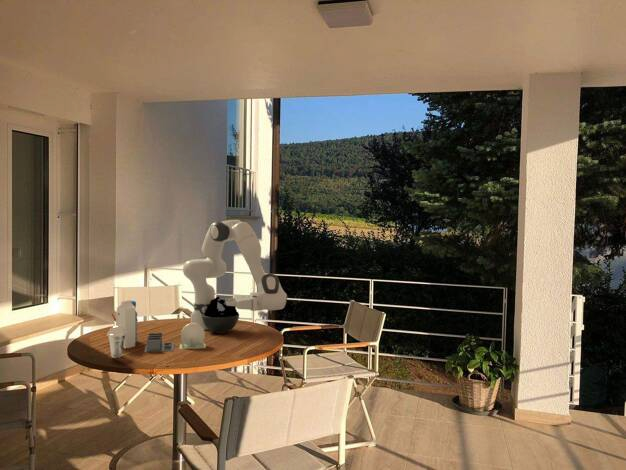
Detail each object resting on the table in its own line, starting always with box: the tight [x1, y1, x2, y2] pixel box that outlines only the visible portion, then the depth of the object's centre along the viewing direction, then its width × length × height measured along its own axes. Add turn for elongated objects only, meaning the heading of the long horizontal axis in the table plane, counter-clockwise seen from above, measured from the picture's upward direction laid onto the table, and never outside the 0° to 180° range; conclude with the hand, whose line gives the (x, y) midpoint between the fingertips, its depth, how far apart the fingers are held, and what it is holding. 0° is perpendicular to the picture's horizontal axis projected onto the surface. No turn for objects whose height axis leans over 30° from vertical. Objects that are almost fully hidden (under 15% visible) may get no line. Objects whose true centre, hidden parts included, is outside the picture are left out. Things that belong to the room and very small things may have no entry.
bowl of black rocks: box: [202, 296, 240, 334], centre depth 286 cm, size 20×20×19 cm
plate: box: [180, 322, 206, 347], centre depth 250 cm, size 2×11×11 cm, turn 103°
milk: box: [116, 299, 136, 350], centre depth 251 cm, size 6×6×22 cm
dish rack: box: [143, 332, 176, 353], centre depth 247 cm, size 16×13×6 cm
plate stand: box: [179, 339, 207, 350], centre depth 250 cm, size 9×12×5 cm
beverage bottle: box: [131, 300, 139, 343], centre depth 262 cm, size 8×8×20 cm
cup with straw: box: [106, 312, 127, 359], centre depth 233 cm, size 8×9×20 cm
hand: (225, 302), depth 253 cm, fingers open, 8 cm apart
